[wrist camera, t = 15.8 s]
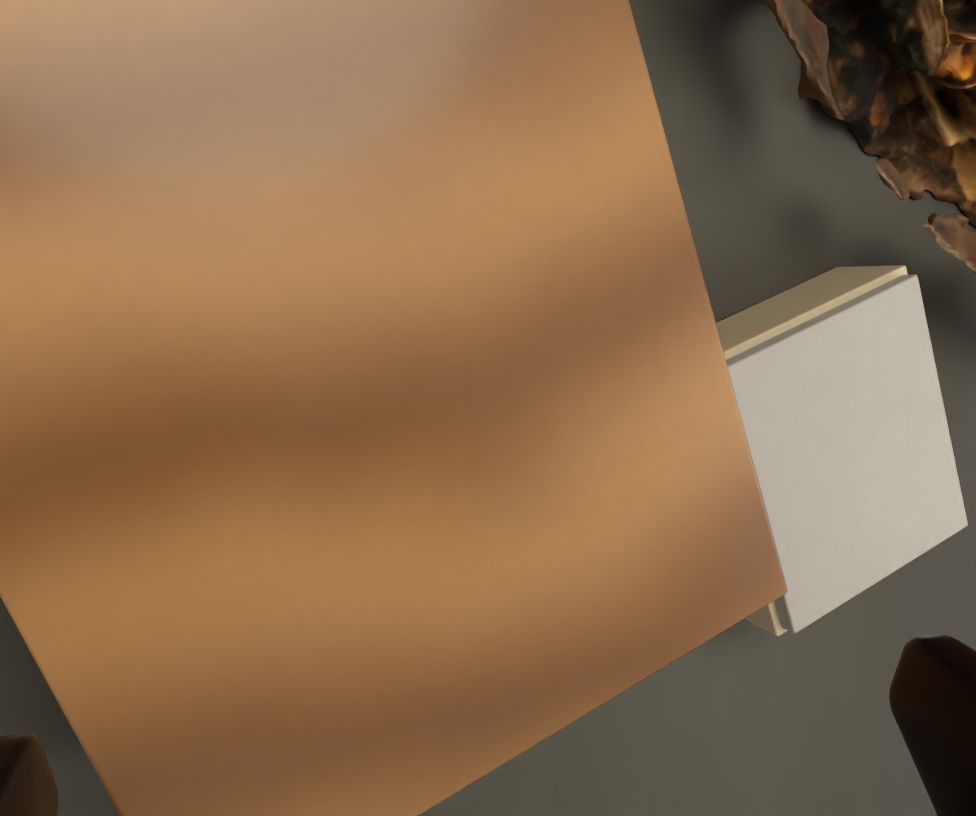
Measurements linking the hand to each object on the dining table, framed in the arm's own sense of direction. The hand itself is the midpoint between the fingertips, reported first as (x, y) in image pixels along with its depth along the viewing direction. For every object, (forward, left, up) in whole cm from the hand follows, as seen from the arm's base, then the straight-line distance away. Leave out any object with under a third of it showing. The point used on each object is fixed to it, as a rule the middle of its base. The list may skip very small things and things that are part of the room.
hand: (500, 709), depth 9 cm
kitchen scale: (+13, -5, -12) cm, 19 cm away
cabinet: (+1, +2, -12) cm, 13 cm away
